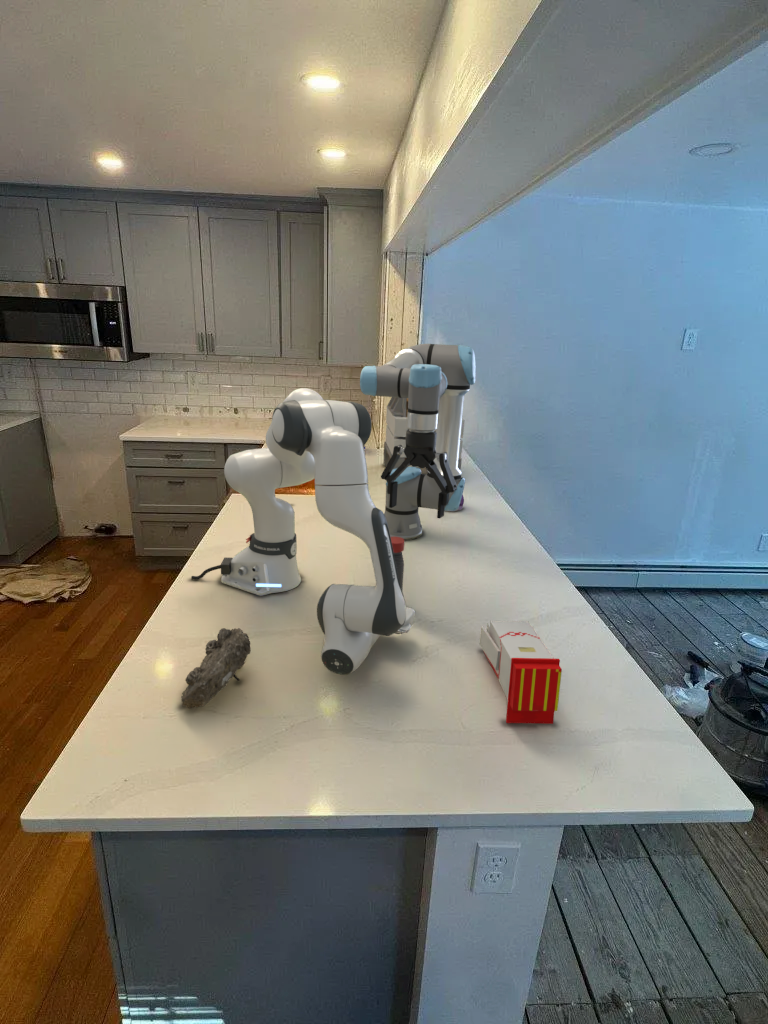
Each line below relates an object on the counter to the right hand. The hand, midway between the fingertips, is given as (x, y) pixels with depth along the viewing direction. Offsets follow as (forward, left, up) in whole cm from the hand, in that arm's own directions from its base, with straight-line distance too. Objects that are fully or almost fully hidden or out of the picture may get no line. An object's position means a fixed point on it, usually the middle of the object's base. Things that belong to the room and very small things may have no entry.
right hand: (416, 511), depth 146 cm
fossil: (+1, -56, -26) cm, 61 cm away
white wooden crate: (-91, +91, -26) cm, 131 cm away
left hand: (+3, -13, -19) cm, 24 cm away
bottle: (-2, -5, -26) cm, 26 cm away
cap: (-2, -5, -8) cm, 9 cm away
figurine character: (-140, +92, -26) cm, 169 cm away
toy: (+39, -7, -26) cm, 48 cm away
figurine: (-46, +66, -26) cm, 85 cm away
